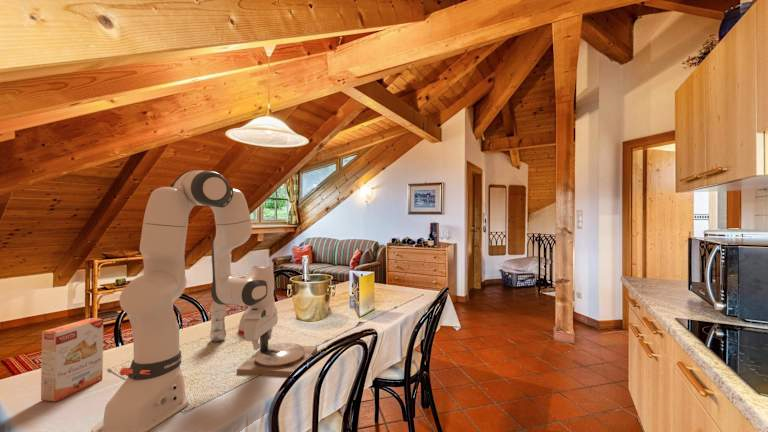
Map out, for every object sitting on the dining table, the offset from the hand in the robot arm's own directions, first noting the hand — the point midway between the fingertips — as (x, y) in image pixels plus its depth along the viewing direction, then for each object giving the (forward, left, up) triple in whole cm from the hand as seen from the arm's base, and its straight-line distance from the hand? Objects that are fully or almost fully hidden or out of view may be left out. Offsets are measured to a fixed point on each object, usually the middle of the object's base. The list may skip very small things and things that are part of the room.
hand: (262, 344), depth 125 cm
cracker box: (-26, +50, -6) cm, 57 cm away
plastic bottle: (+17, +29, -6) cm, 34 cm away
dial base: (0, -7, -6) cm, 9 cm away
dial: (0, -7, -4) cm, 8 cm away
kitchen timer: (+32, +20, -6) cm, 38 cm away
